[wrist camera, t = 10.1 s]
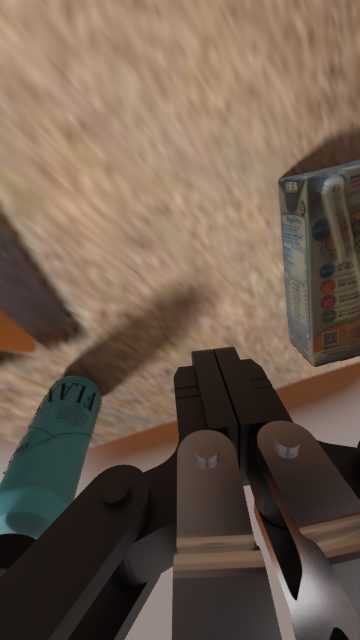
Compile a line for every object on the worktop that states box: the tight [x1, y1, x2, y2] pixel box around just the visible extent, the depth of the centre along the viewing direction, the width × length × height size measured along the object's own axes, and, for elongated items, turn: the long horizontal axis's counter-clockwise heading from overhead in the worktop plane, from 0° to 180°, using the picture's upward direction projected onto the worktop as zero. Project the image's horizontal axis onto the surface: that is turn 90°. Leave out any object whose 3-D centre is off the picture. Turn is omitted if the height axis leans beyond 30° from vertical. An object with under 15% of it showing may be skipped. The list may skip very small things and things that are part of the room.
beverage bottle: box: [0, 376, 102, 578], centre depth 27 cm, size 6×7×20 cm
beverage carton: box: [278, 159, 360, 367], centre depth 29 cm, size 8×19×7 cm, turn 13°
